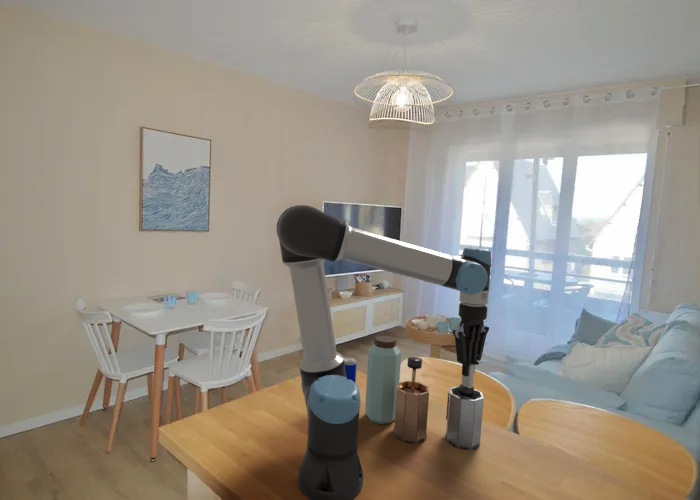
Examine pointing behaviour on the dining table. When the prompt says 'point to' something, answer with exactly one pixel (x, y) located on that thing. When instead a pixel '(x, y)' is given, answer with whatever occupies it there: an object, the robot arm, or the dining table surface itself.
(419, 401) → the copper press
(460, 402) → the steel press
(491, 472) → the dining table surface
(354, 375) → the beverage can
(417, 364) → the copper press plunger
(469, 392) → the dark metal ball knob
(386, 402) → the water bottle
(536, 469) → the dining table surface
